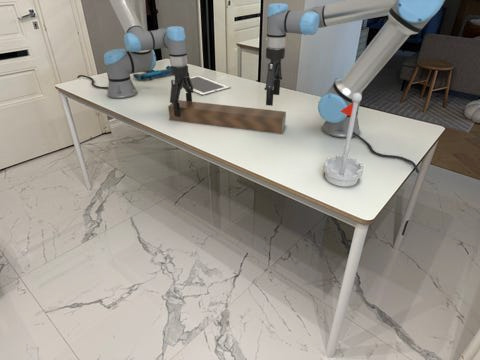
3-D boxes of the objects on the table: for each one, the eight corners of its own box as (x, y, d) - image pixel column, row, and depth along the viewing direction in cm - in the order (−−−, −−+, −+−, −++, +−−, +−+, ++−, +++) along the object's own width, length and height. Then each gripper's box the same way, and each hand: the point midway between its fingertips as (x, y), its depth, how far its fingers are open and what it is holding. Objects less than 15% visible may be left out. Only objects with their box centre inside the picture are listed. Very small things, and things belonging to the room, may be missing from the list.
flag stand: (345, 165, 124) (361, 84, 108) (368, 183, 114) (390, 97, 98) (314, 171, 121) (326, 88, 104) (336, 191, 110) (352, 103, 94)
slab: (284, 126, 154) (286, 111, 150) (281, 133, 147) (282, 118, 144) (177, 113, 167) (176, 99, 163) (169, 119, 160) (168, 105, 157)
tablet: (172, 82, 209) (172, 81, 209) (199, 75, 220) (199, 75, 220) (202, 95, 189) (202, 94, 188) (230, 87, 200) (230, 87, 200)
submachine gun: (171, 61, 241) (190, 66, 224) (171, 66, 243) (190, 72, 226) (125, 69, 222) (142, 76, 205) (126, 75, 224) (143, 82, 207)
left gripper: (183, 58, 160) (187, 101, 171) (157, 71, 140) (164, 120, 151) (198, 59, 158) (201, 103, 170) (174, 73, 138) (179, 121, 149)
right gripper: (273, 41, 144) (270, 89, 156) (258, 54, 124) (257, 109, 136) (290, 42, 143) (286, 91, 154) (278, 55, 123) (275, 111, 134)
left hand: (183, 111), depth 160 cm, fingers open, 13 cm apart
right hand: (272, 99), depth 145 cm, fingers open, 13 cm apart
